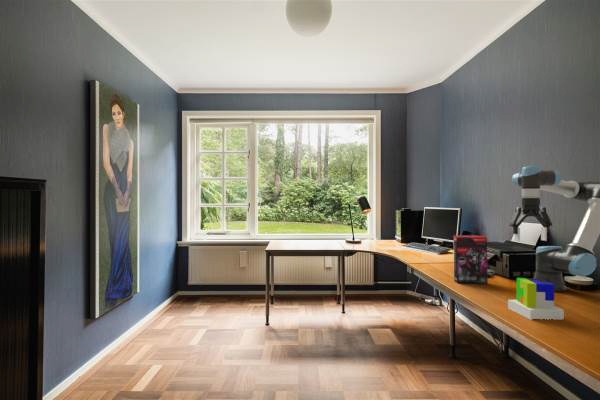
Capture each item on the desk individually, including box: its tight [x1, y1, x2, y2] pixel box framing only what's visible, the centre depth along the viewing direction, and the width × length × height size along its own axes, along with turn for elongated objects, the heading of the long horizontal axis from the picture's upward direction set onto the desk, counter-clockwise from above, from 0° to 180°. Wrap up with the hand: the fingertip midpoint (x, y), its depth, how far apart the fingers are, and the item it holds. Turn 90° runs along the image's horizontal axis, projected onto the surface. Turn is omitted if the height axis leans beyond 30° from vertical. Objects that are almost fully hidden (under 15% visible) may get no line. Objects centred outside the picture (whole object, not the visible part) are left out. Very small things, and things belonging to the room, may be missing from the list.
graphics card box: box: [453, 235, 489, 285], centre depth 198 cm, size 17×7×27 cm, turn 83°
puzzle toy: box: [516, 277, 555, 309], centre depth 145 cm, size 10×10×10 cm
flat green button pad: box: [487, 268, 495, 277], centre depth 221 cm, size 18×18×5 cm
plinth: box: [507, 299, 565, 321], centre depth 145 cm, size 14×14×4 cm
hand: (530, 240), depth 168 cm, fingers open, 13 cm apart
